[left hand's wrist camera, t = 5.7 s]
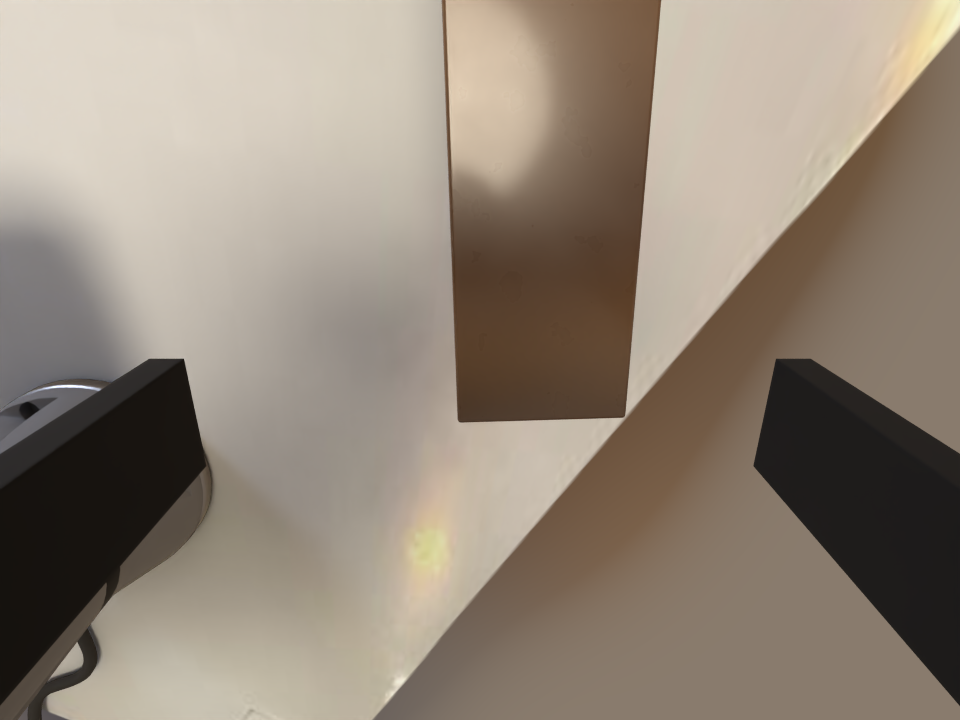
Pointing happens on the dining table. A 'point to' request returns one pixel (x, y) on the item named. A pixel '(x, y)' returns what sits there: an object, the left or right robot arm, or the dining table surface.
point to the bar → (546, 200)
